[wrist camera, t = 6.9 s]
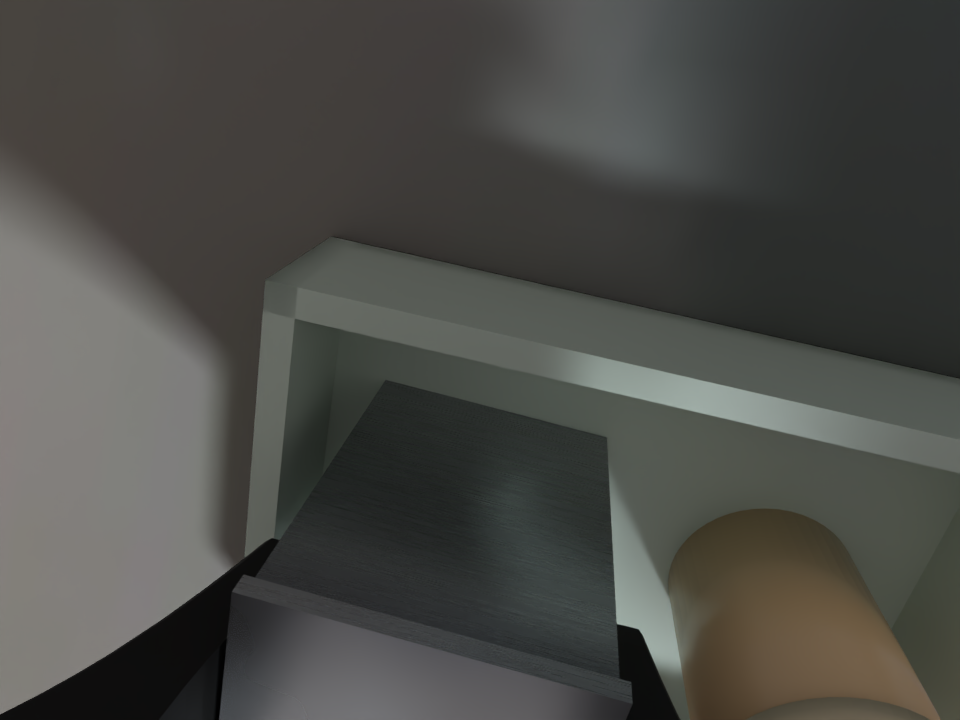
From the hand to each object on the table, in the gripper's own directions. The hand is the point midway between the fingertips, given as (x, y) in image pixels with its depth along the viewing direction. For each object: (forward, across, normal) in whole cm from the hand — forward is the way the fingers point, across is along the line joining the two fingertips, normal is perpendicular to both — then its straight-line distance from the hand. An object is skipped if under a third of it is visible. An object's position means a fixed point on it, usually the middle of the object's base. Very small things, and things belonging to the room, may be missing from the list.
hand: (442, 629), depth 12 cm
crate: (+4, -3, 0) cm, 5 cm away
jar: (+3, -6, 0) cm, 7 cm away
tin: (+3, 0, 0) cm, 3 cm away
